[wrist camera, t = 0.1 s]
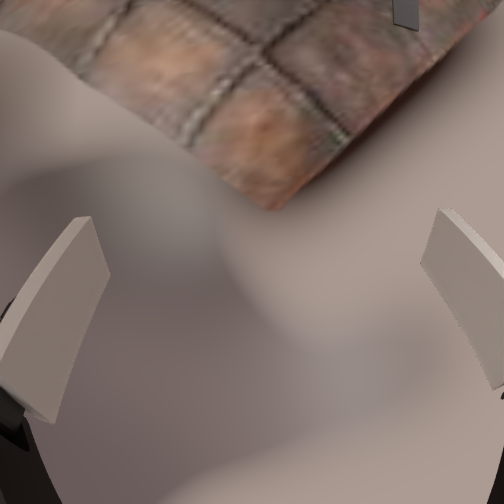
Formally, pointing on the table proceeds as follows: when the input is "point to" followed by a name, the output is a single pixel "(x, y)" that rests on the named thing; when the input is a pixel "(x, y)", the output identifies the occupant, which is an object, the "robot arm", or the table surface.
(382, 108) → the table surface
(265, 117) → the table surface
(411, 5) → the dark gray rectangular slab
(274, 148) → the table surface
